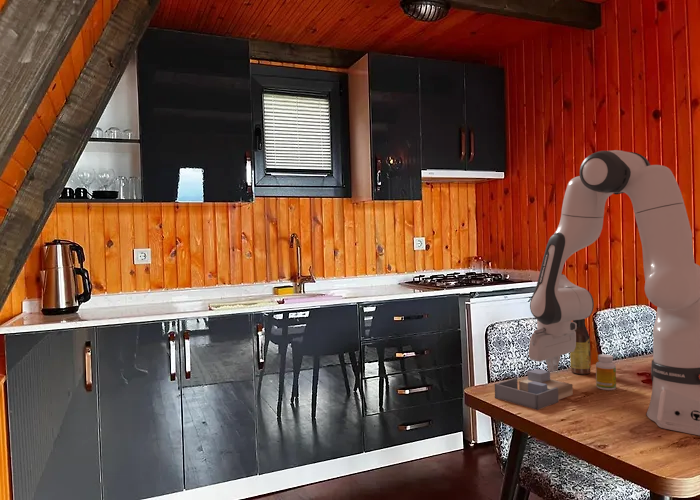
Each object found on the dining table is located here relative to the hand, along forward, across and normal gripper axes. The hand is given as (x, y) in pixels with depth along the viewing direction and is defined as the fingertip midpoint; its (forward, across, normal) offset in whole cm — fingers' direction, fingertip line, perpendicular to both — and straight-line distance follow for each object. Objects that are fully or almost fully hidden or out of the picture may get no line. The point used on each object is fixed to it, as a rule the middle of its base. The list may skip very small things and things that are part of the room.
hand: (552, 370), depth 165 cm
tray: (+4, -18, -3) cm, 19 cm away
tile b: (+1, -8, 0) cm, 8 cm away
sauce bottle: (+4, +18, +1) cm, 19 cm away
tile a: (+2, -16, -6) cm, 17 cm away
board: (+4, -9, -3) cm, 11 cm away
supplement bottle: (+4, +8, -12) cm, 16 cm away
